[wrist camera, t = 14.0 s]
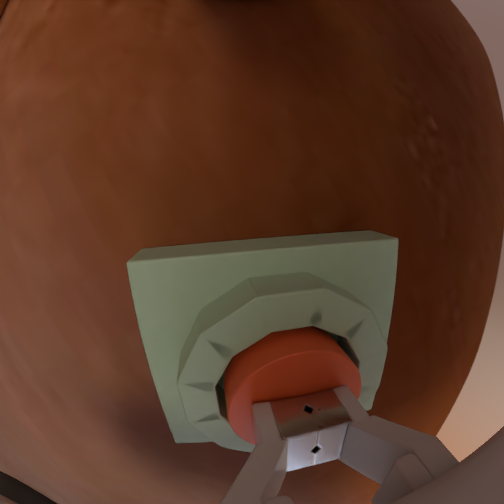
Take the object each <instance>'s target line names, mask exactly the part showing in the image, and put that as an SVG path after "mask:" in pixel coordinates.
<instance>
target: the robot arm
mask: <svg viewBox="0 0 504 504" xmlns="http://www.w3.org/2000/svg"><path fill="white" fill-rule="evenodd" d="M252 417H253V428H254V435H255V442H256V446H255V447H254V449H253V451H252V453H251V454H250V456H249V458H248V459H247V461H246V463H245V464H244V466H243V468H242V469H241V471H240V473H239V474H238V476H237V477H236V479H235V481H234V482H233V484H232V485H231V487H230V488H229V490H228V492H227V493H226V495H225V496H224V498H223V499H222V501H221V504H294V503H293V500H292V498H291V497H288V496H286V495H282V496H277V495H278V492H279V490H280V488H281V485H282V483H283V480H284V478H285V475H286V472H288V471H292V470H296V469H301V468H304V467H308V466H312V465H316V464H320V463H324V462H328V461H332V460H336V459H339V460H340V461H341V462H343V463H345V464H346V465H348V466H349V467H351V468H353V469H354V470H356V471H358V472H359V473H361V474H363V475H365V476H366V477H368V478H370V479H371V480H373V481H375V482H377V483H379V484H380V485H381V486H380V488H379V489H378V491H377V492H376V494H375V495H374V497H373V499H372V502H373V504H504V426H503V427H502V428H501V429H500V430H499V431H498V432H497V433H496V434H495V435H493V436H492V437H491V438H490V439H489V440H488V441H486V442H485V443H484V444H483V445H482V446H481V447H479V448H478V449H477V450H475V451H474V452H473V453H472V454H470V455H469V456H468V457H466V458H465V459H464V460H462V461H461V462H458V461H457V460H456V459H455V457H454V456H453V455H452V454H451V453H450V451H448V449H447V448H446V447H445V446H444V445H443V444H442V442H441V441H440V440H439V439H438V438H437V437H435V436H432V435H429V434H426V433H423V432H419V431H416V430H413V429H410V428H408V427H405V426H402V425H399V424H396V423H394V422H391V421H388V420H385V419H383V418H380V417H378V416H375V415H373V416H369V415H368V413H367V412H366V411H365V409H364V408H363V406H362V405H361V404H360V402H359V401H358V400H357V398H356V397H355V395H354V394H353V393H352V391H351V390H350V388H349V387H348V386H346V385H343V386H340V387H336V388H332V389H329V390H325V391H321V392H316V393H312V394H308V395H303V396H299V397H293V398H287V399H281V400H274V401H269V402H261V403H252ZM0 504H18V503H16V502H14V501H12V500H10V499H8V498H6V497H4V496H2V495H1V494H0Z"/></svg>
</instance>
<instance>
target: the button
mask: <svg viewBox="0 0 504 504" xmlns="http://www.w3.org/2000/svg"><path fill="white" fill-rule="evenodd" d="M343 385H346V386H348V387H349V388H350V390H351V391H352V393H353V394H354V395H355V397H356V398H357V400H358V399H359V396H360V392H361V376H360V373H359V370H358V368H357V367H356V365H355V364H354V363H353V361H352V360H351V359H350V358H349V357H348V355H347V354H346V353H345V352H344V351H343V349H342V348H341V347H340V346H339V344H338V343H337V342H336V341H335V340H334V338H332V337H331V336H330V335H329V334H328V333H326V332H325V331H323V330H321V329H319V328H316V327H313V326H310V327H304V328H298V329H291V330H284V331H277V332H271V333H270V334H268V335H267V336H265V337H264V338H262V339H260V340H259V341H257V342H256V343H254V344H252V345H251V346H249V347H248V348H246V349H244V350H243V351H241V352H239V353H238V354H236V355H235V356H233V357H232V359H231V360H230V362H229V364H228V366H227V367H226V370H225V373H224V390H225V399H226V407H227V416H228V420H229V424H230V426H231V428H232V429H233V430H234V432H235V433H236V434H237V435H238V436H239V437H240V438H242V439H243V440H245V441H247V442H249V443H251V444H253V445H256V442H255V435H254V428H253V417H252V403H261V402H269V401H274V400H281V399H287V398H293V397H299V396H303V395H308V394H312V393H316V392H321V391H325V390H329V389H332V388H336V387H340V386H343Z"/></svg>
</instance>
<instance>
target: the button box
mask: <svg viewBox="0 0 504 504" xmlns="http://www.w3.org/2000/svg"><path fill="white" fill-rule="evenodd" d="M397 258H398V238H395V237H392V236H388V235H385V234H382V233H378V232H375V231H371V230H367V231H352V232H338V233H324V234H310V235H296V236H283V237H270V238H258V239H246V240H233V241H222V242H210V243H198V244H187V245H176V246H165V247H154V248H143V249H141V250H140V251H139V252H137V253H136V254H135V255H134V256H133V257H132V258H131V259H130V260H129V261H128V262H127V269H128V275H129V281H130V286H131V292H132V297H133V302H134V307H135V311H136V316H137V320H138V325H139V329H140V333H141V337H142V341H143V345H144V349H145V353H146V356H147V360H148V364H149V367H150V371H151V374H152V377H153V381H154V384H155V387H156V390H157V393H158V396H159V399H160V402H161V405H162V408H163V411H164V414H165V417H166V419H167V422H168V425H169V427H170V430H171V433H172V435H173V438H174V440H175V442H176V443H197V442H215V443H216V444H218V445H219V446H221V447H224V448H228V449H233V450H239V451H244V452H250V453H252V451H253V449H254V447H255V446H256V445H253V444H251V443H249V442H247V441H245V440H243V439H242V438H240V437H239V436H238V435H237V434H236V433H235V432H234V430H233V429H232V428H231V426H230V424H229V420H228V416H227V407H226V399H225V390H224V373H225V370H226V367H227V366H228V364H229V362H230V360H231V359H232V357H233V356H235V355H236V354H238V353H239V352H241V351H243V350H244V349H246V348H248V347H249V346H251V345H252V344H254V343H256V342H257V341H259V340H260V339H262V338H264V337H265V336H267V335H268V334H270V333H271V332H277V331H284V330H291V329H298V328H304V327H310V326H313V327H316V328H319V329H321V330H323V331H325V332H326V333H328V334H329V335H330V336H331V337H332V338H334V340H335V341H336V342H337V343H338V344H339V346H340V347H341V348H342V349H343V351H344V352H345V353H346V354H347V355H348V357H349V358H350V359H351V360H352V361H353V363H354V364H355V365H356V367H357V368H358V370H359V373H360V376H361V392H360V396H359V399H358V401H359V402H360V404H361V405H362V406H363V408H364V409H365V411H367V410H370V409H371V408H372V405H373V401H374V397H375V393H376V391H377V389H378V387H379V385H380V381H381V377H382V373H383V369H384V364H385V360H386V355H387V350H388V347H387V339H388V333H389V327H390V321H391V314H392V307H393V299H394V291H395V281H396V271H397Z"/></svg>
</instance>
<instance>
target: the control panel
mask: <svg viewBox="0 0 504 504" xmlns="http://www.w3.org/2000/svg"><path fill="white" fill-rule="evenodd" d="M7 1H8V0H0V17H1V14H2V12H3V10H4V8H5V5H6V3H7Z"/></svg>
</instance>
